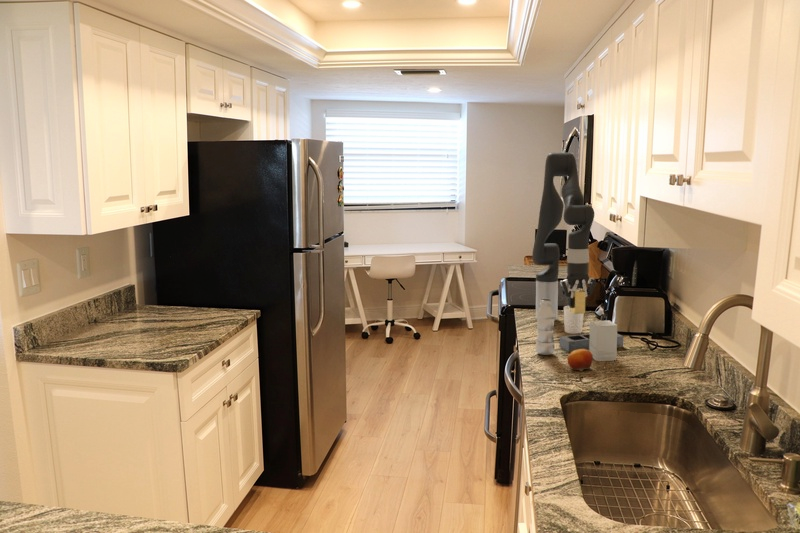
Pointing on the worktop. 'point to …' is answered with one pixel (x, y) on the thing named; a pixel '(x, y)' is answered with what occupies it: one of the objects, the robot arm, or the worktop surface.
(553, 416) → the worktop surface
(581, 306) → the pale yellow block
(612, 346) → the supplement box
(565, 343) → the gray compartment tray
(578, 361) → the fruit
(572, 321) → the white cup
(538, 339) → the plastic bottle
